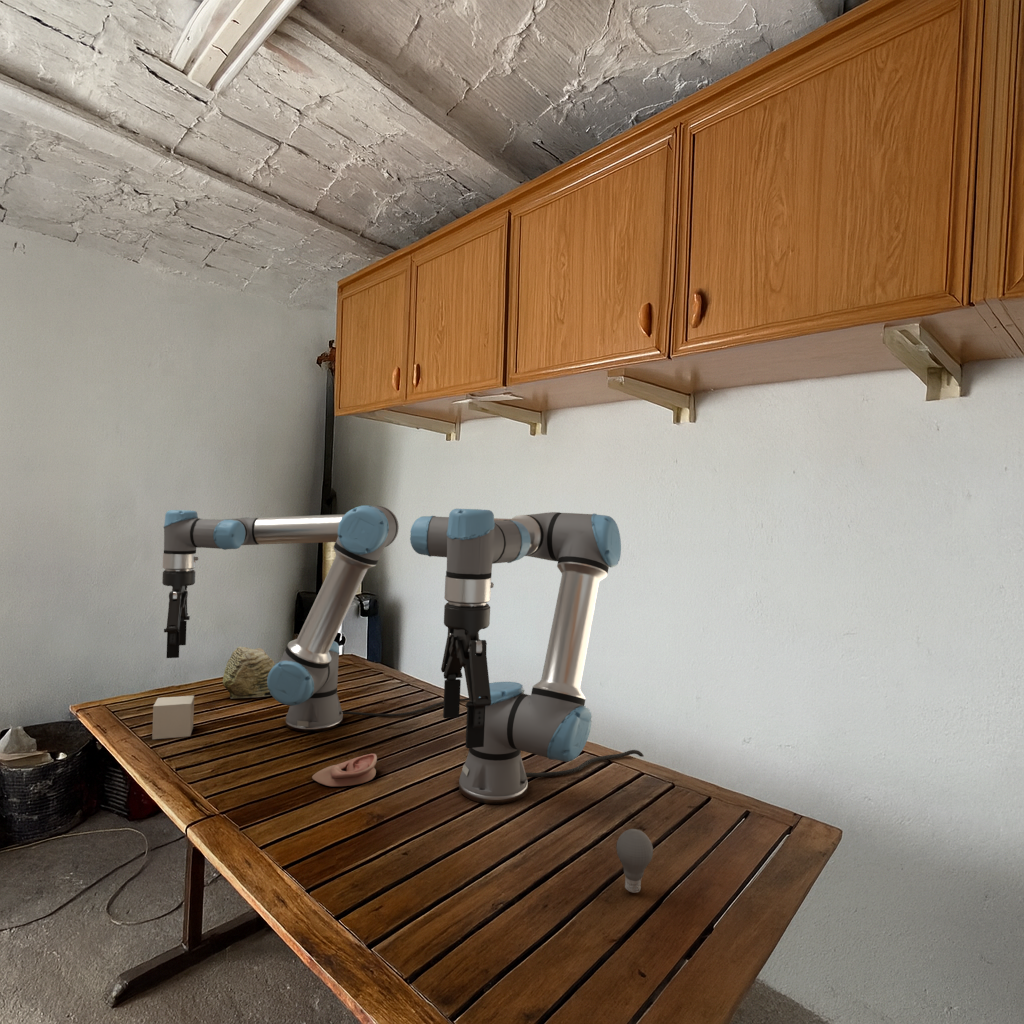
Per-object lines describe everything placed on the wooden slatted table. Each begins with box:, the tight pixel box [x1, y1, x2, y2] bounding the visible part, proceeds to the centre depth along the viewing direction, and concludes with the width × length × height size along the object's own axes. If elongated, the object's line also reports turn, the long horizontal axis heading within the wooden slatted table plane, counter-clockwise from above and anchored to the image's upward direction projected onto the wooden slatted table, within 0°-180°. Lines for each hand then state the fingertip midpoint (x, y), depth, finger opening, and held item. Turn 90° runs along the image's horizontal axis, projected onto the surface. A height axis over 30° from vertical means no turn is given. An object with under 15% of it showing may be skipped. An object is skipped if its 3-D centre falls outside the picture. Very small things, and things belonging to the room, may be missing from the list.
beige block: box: [151, 695, 195, 740], centre depth 165 cm, size 9×7×8 cm
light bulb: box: [615, 828, 654, 894], centre depth 106 cm, size 6×6×10 cm
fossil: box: [222, 646, 276, 699], centre depth 198 cm, size 9×18×15 cm, turn 132°
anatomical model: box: [311, 753, 378, 788], centre depth 144 cm, size 13×4×12 cm
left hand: (176, 651), depth 164 cm, fingers open, 13 cm apart
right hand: (462, 731), depth 104 cm, fingers open, 13 cm apart
